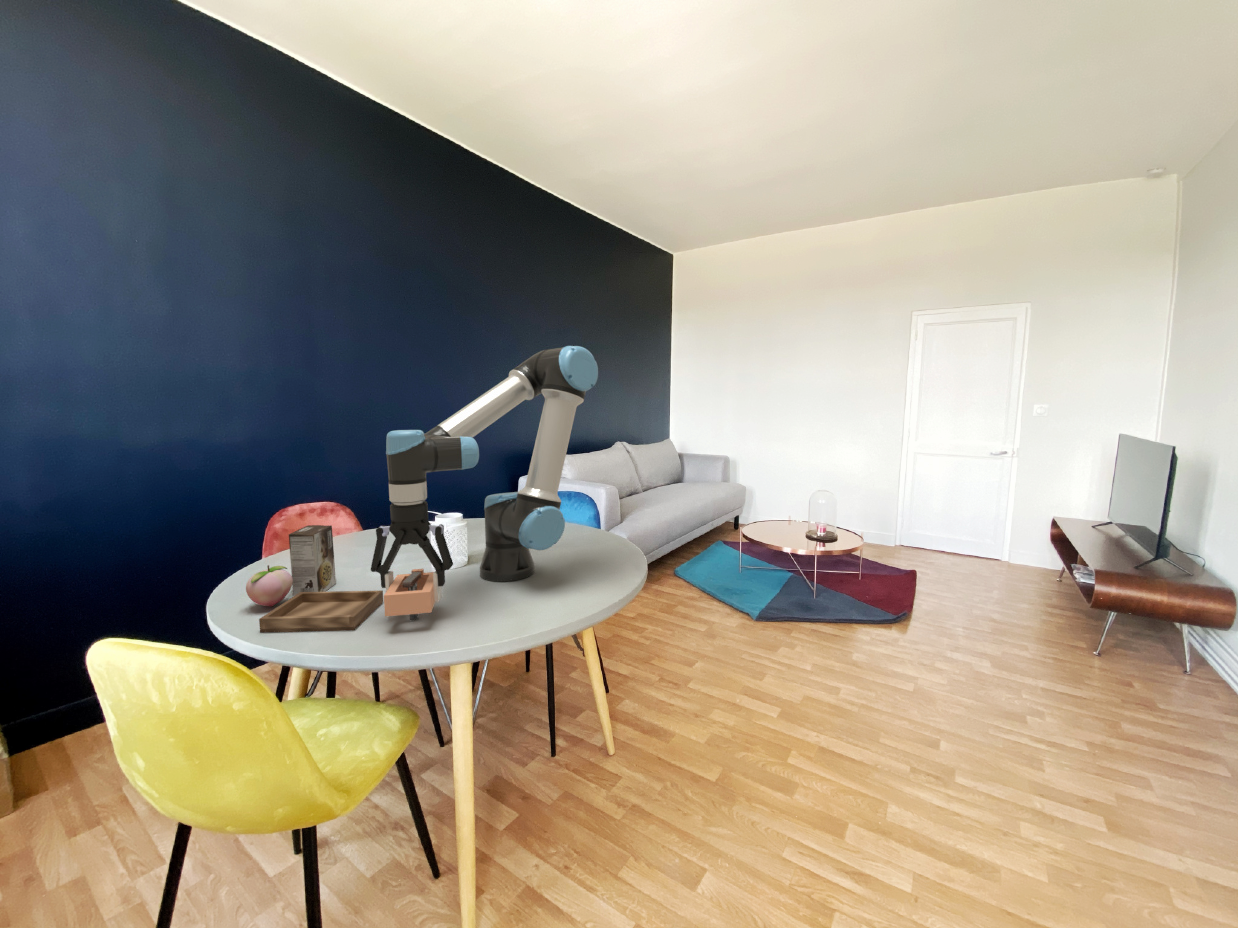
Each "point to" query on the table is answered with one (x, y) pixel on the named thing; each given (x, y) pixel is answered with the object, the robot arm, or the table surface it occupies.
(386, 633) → the table surface
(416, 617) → the grey t-shaped block
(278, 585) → the decorative fruit
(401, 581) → the terracotta rectangular box
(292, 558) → the coffee box
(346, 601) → the tray
